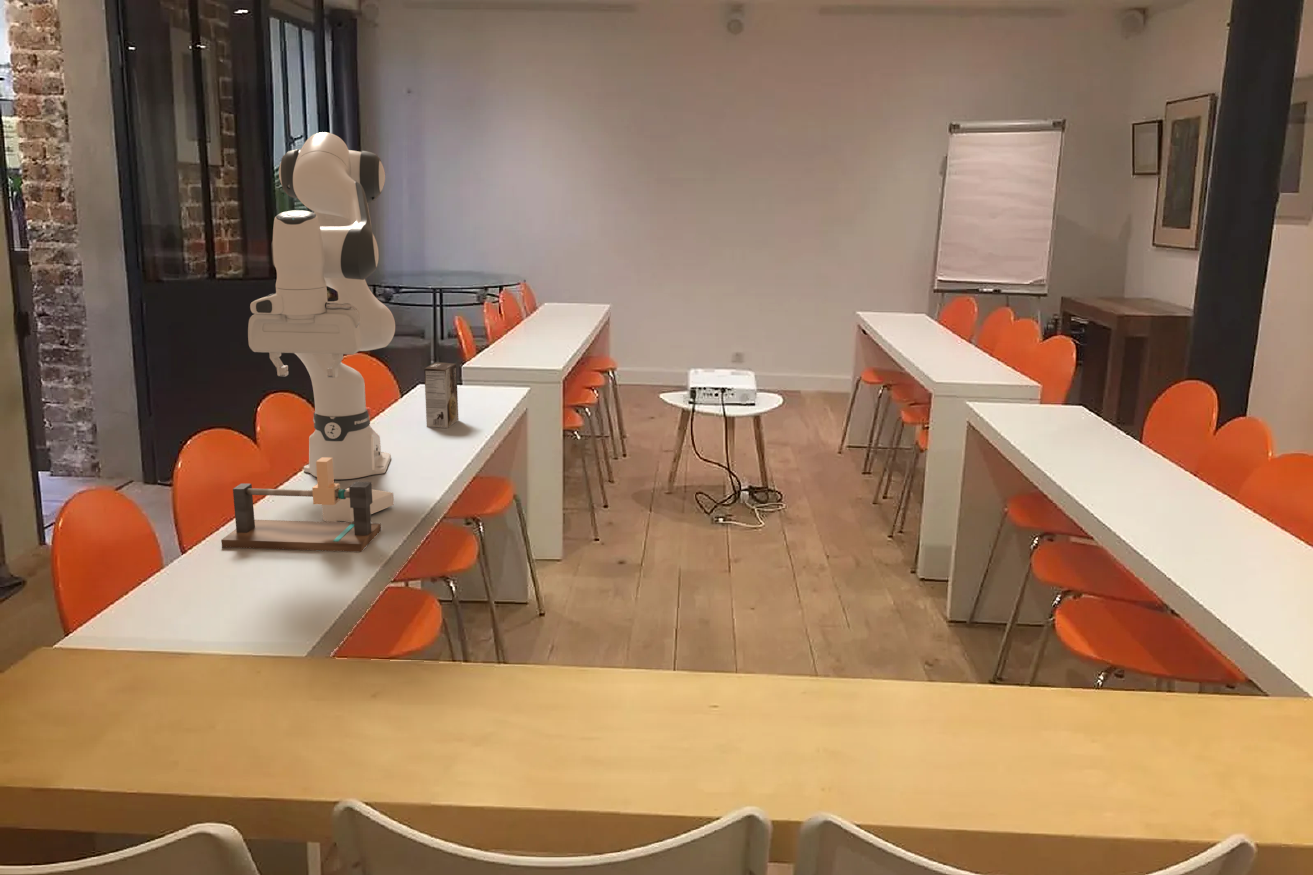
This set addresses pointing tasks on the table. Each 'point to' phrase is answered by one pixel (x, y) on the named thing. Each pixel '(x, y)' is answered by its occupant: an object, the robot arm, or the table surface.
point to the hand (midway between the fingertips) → (308, 376)
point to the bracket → (345, 513)
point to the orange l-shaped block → (325, 483)
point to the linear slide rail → (302, 523)
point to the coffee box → (441, 394)
